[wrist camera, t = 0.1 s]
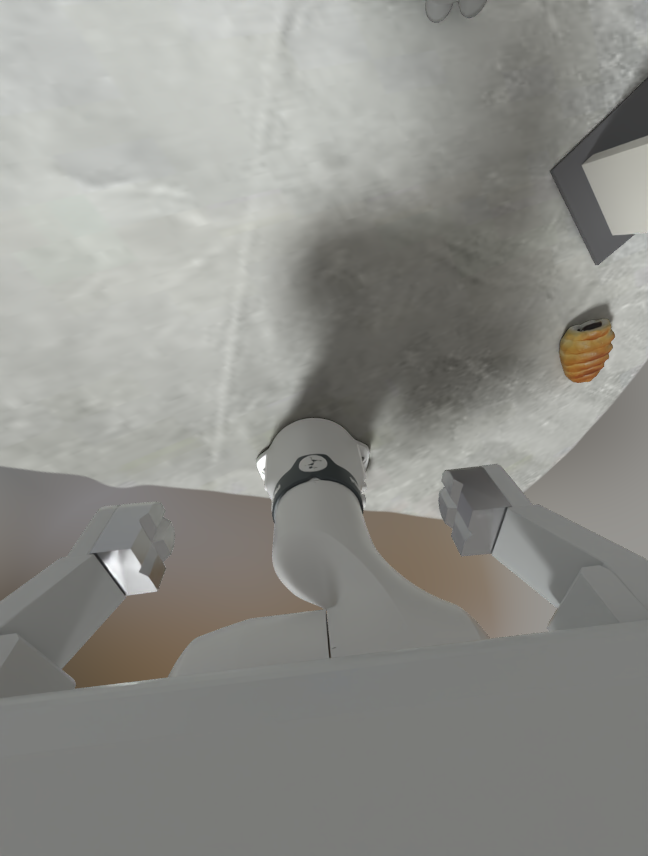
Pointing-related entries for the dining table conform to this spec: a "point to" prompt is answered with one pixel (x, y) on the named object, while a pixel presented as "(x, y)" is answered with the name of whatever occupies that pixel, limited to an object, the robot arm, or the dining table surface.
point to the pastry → (586, 349)
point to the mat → (626, 123)
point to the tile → (621, 185)
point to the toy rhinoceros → (441, 4)
